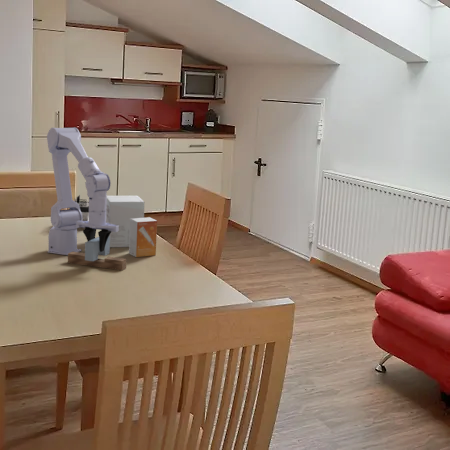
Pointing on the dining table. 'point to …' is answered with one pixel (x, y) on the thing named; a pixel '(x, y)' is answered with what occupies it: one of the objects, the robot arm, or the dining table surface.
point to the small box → (142, 237)
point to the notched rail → (97, 261)
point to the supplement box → (123, 217)
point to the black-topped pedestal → (83, 208)
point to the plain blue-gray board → (95, 249)
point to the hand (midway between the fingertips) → (97, 250)
